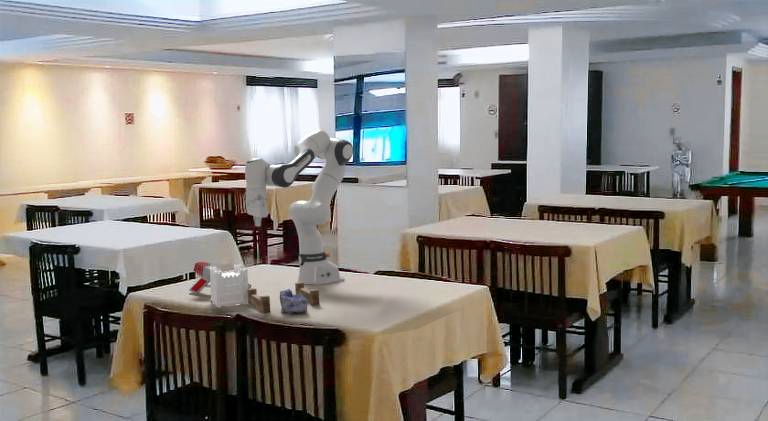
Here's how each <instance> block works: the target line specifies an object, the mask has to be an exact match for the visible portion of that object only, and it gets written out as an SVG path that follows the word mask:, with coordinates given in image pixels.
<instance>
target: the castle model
mask: <svg viewBox="0 0 768 421" xmlns="http://www.w3.org/2000/svg"><path fill="white" fill-rule="evenodd" d="M217 268H218V267H216V266H214V267H213V268H212V267H210V282H209V284H210V285H211V288H210V302H211V301H212V302H213V303H214V304H215V305H216V306H217V307H218V308H222V307H221V306H226V307H230V306H229V305H234V306H237V305H236V304H243V305H249V304H248V283H249V277H248V276H249V275H248V269H247V268H243V267H242V264H233V270H228V271H227V270H225V271H224V270H223V271H224V273H223V272H221V271H218V272H217ZM212 302H211V303H212ZM213 303H212V304H213ZM214 304H213V305H214ZM215 305H214V306H215ZM216 306H215V307H216ZM217 307H216V308H217Z"/></svg>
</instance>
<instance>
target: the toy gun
mask: <svg viewBox="0 0 768 421" xmlns="http://www.w3.org/2000/svg"><path fill="white" fill-rule="evenodd" d="M210 267H212V268H213V267H215V266H214V265H212V263H211V262H206V261H199V262H195V264H194V267H193V272H194V273H195V274H197V275H198V276H199V277H200V278H199V279H198V280H197V281H196V282H195V283H194V284H193V285H192V286H191V287H190V288H189V289H188V291H189V292H192V293H193V294H195V293H197V294H199V293H201V292H202V291H203V289H205V288H210V289H211V284H210ZM216 268H217V272H218V271H221V272H223V273H224V270H222V269H220V268H218V267H216ZM251 288H252V284H250V283H249V282H248V289H251Z"/></svg>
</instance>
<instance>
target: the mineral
mask: <svg viewBox="0 0 768 421" xmlns="http://www.w3.org/2000/svg"><path fill="white" fill-rule="evenodd" d="M279 302H280V306H281V310H280V311H281V312H282V313H285V312H286V313H287V314H289V315H290V314H294V313H303V312H304V313H307V312H308V304H309V303H308V302H307V299H305V298H304V297H302V296H301V295H296V294H293V291H292V290H291V289H289V288H288V289H285V290H280V291H279Z"/></svg>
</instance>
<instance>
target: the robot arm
mask: <svg viewBox="0 0 768 421" xmlns="http://www.w3.org/2000/svg"><path fill="white" fill-rule="evenodd" d="M293 152H294V156H295V158H294V159H293V160H291V162H289V163H287V164H272V163H269V162H267V161H265V160H264V158H262V157H256V158H254V157H253V158H250V159H248V160H246V162H245V168H244V178H245V182H246V186H245V192H244V194H243V195H244V199H245V209H246V213H247V215H250V216H253V217H252V218H253V221H254V226H255V227H261V226H262V219H263V218H268V215H269V210H268V203H267V200H266V199H267V187H279V188H285V189H286V188H289V187H291V186H292V185H293V183H294V182H295V180H297V177H298V176H299V175H300V174H301V173H302V172H304V170H305V169H307V167H308V166H310V165H311V164H312V163H313V162H314V160H315V159H316V158H319V159H322V160H325V164H324V167H323V168H322V169H321V171H320V172H319V174H318V176H317V177H316V179H315V180H314V182H313V184H312V186H311V191H312V194H311V197H310V199H309V200H302V199H301V200H296V201H294V202H293V203H291V204H290V206H289V208H288V214H289V218H290V219H291V220H292V221H293V223H294V225H295V228H296V232H297V236H298V243H299V244H298V246H299V253H298V264H299V270H298V271H299V272H298V278H297V283H299V282H303V283H304V285H318V286H320V285H326V284H331V283H336V282H342V281H345V276H342V275H340V270H339V268H338V266H337V265H336V264H334V263H333V262H332V261H330V260H329V259H327V258H330V256H331V254H330V252H325V251H323V236H322V234H321V233H320V231H319V229H318V228H317V227H318V225H324V224H326V223H328V222H329V220H330V219H331V214H332V212H331V208H330V206H331V201H332V200H333V197H334V195H335V193H336V191H337V189H338V188H339V186H340V184H341V183H342V180H343V179H344V176H345V174H346V171H347V166H346V165H347V164H348V163H349V162H350V160H351V159H352V157H353V154H354V147H353V144H352V143H351V141H349V140H347V139H341V138H337V137H330V135H329V134H328V133H327V132H326V131H325V130H322V129H317V130H315V131H312V132H310V133H308V134H307V135H305V136H303V137H302V138H301V139H299V140H298V141H297V142H296V144H295V145H294V147H293Z"/></svg>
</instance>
